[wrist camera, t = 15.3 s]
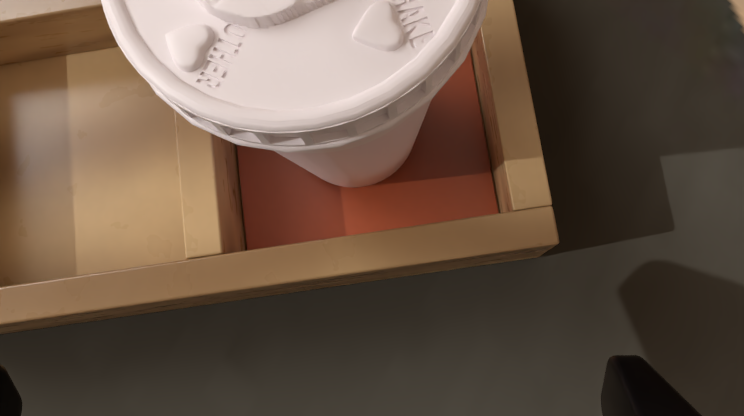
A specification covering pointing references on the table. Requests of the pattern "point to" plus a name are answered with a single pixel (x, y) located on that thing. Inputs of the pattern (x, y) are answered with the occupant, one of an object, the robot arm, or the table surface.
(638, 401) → the robot arm
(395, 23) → the smoothie
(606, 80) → the table surface
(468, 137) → the caddy
